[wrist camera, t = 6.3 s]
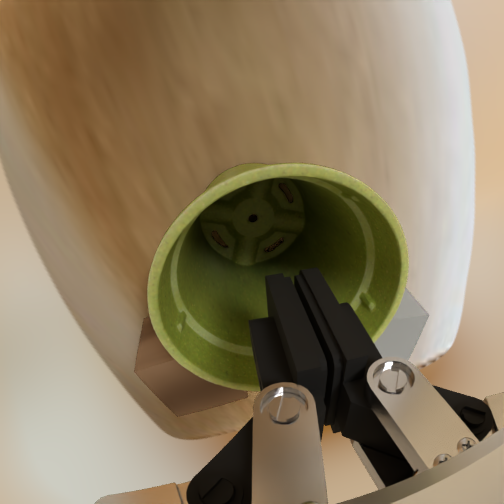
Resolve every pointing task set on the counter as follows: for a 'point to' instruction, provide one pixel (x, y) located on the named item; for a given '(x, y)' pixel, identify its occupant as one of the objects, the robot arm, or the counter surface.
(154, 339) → the walnut block
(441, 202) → the counter surface
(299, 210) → the plant pot
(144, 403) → the counter surface
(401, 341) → the slate block
